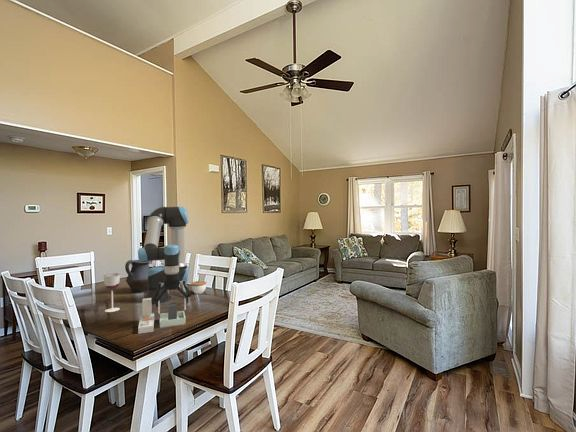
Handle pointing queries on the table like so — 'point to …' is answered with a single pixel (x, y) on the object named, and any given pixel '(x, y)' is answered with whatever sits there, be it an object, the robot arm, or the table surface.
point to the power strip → (146, 324)
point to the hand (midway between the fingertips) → (172, 311)
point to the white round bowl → (198, 287)
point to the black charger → (172, 311)
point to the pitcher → (137, 275)
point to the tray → (174, 322)
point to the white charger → (147, 306)
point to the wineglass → (112, 286)
